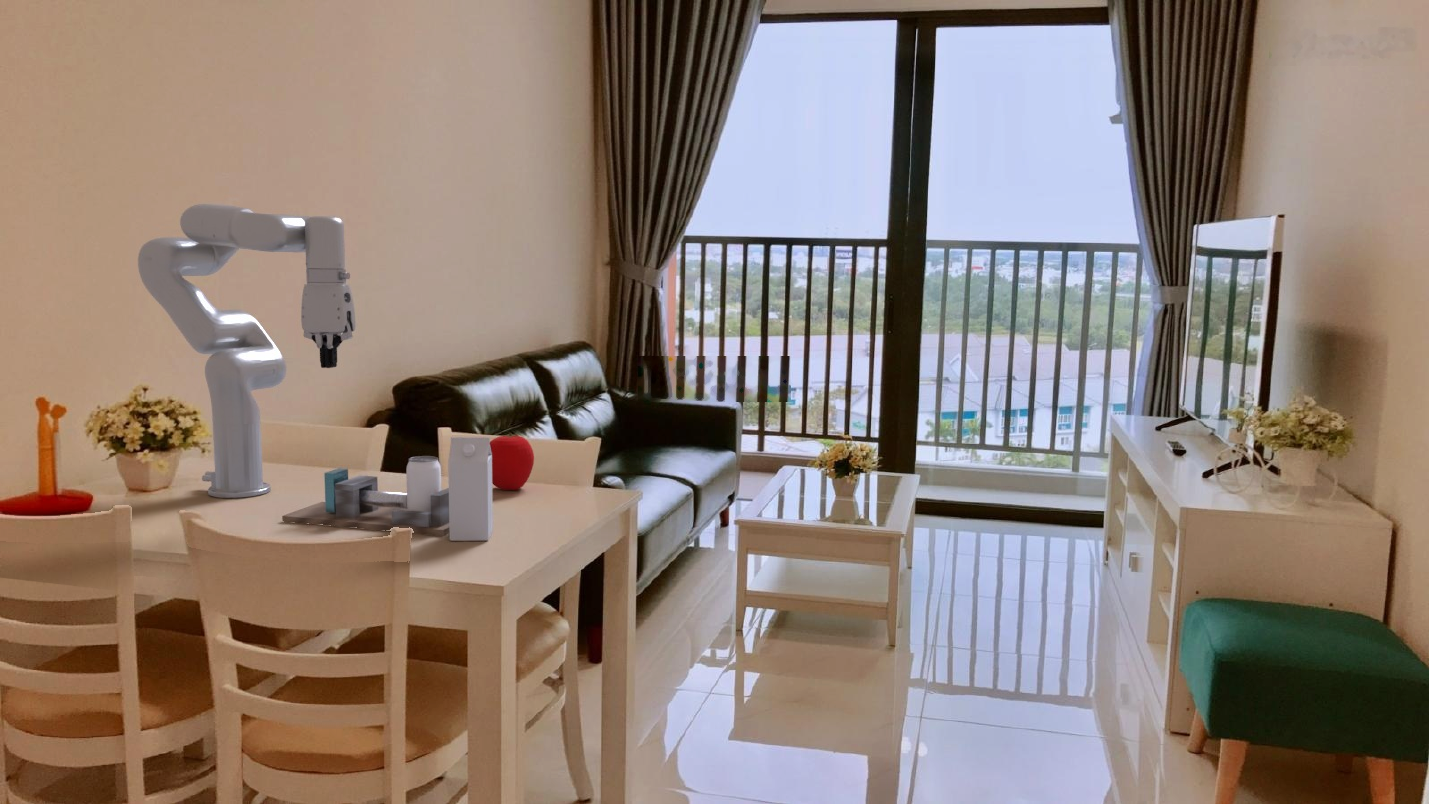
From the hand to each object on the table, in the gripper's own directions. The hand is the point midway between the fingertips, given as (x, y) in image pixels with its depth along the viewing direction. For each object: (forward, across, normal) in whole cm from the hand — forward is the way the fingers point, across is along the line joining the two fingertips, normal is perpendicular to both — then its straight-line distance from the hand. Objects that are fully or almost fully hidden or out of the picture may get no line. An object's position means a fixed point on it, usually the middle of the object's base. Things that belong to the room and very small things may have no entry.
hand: (328, 367), depth 225 cm
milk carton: (+29, -39, +14) cm, 51 cm away
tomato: (+29, -28, -26) cm, 48 cm away
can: (+28, -26, +9) cm, 40 cm away
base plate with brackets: (+29, -16, +9) cm, 35 cm away
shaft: (+27, -14, +9) cm, 32 cm away
